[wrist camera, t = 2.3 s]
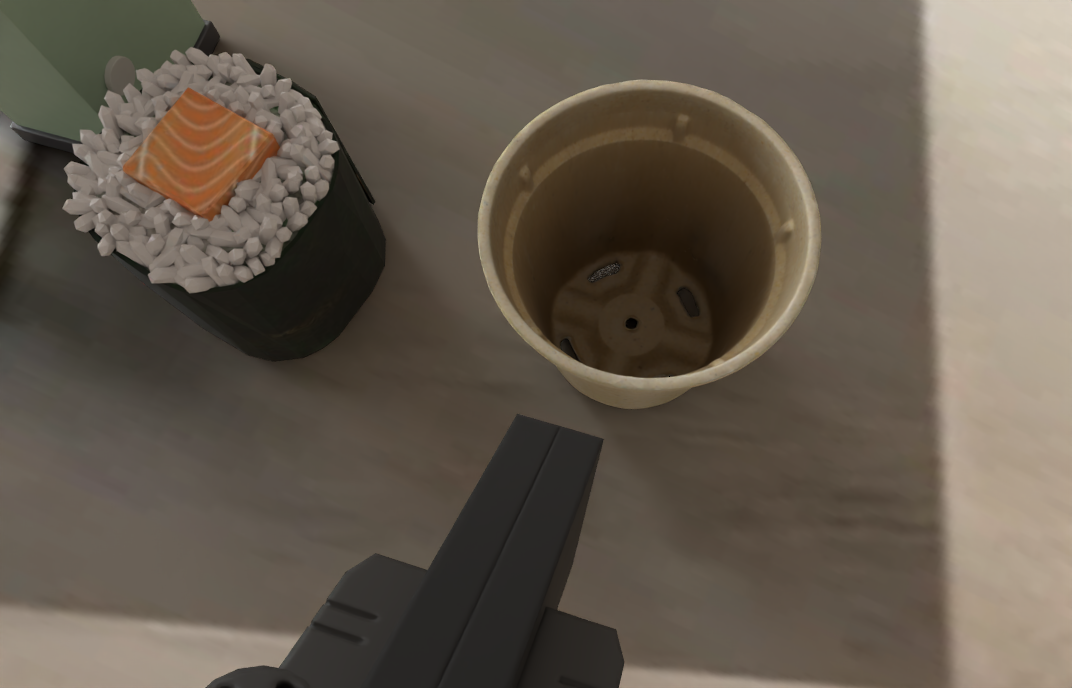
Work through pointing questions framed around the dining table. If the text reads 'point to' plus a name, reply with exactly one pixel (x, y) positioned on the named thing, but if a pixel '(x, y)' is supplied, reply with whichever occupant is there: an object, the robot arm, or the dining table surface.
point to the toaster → (85, 58)
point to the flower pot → (649, 238)
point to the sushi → (231, 203)
